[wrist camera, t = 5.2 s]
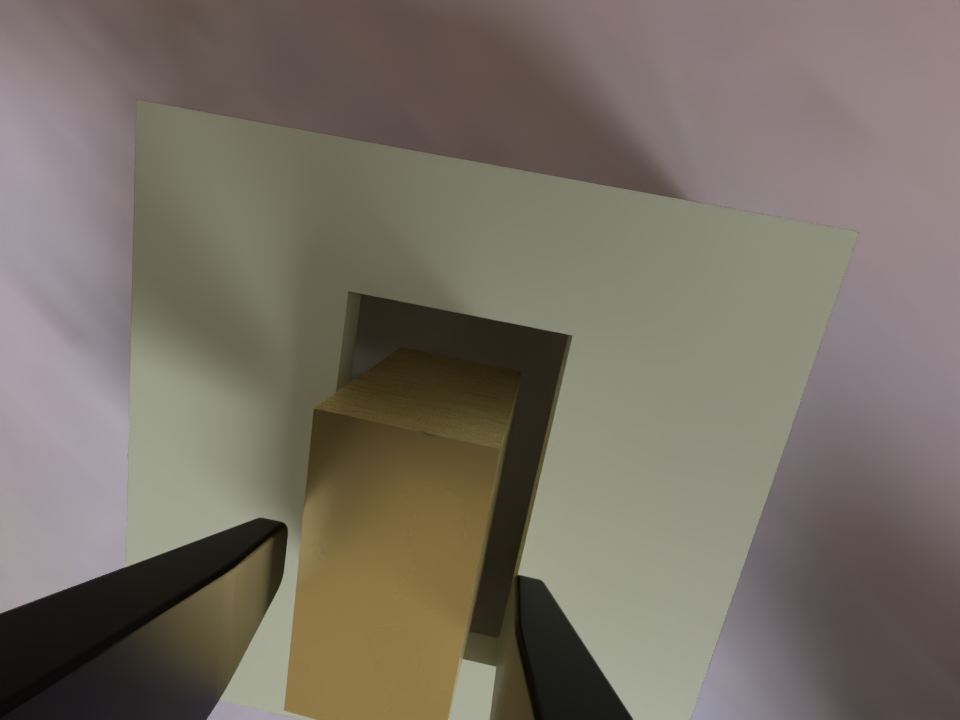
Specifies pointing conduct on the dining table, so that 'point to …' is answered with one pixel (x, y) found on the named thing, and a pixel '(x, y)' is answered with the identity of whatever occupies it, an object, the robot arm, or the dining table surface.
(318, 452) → the wooden block
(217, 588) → the robot arm
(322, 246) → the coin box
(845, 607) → the dining table surface
